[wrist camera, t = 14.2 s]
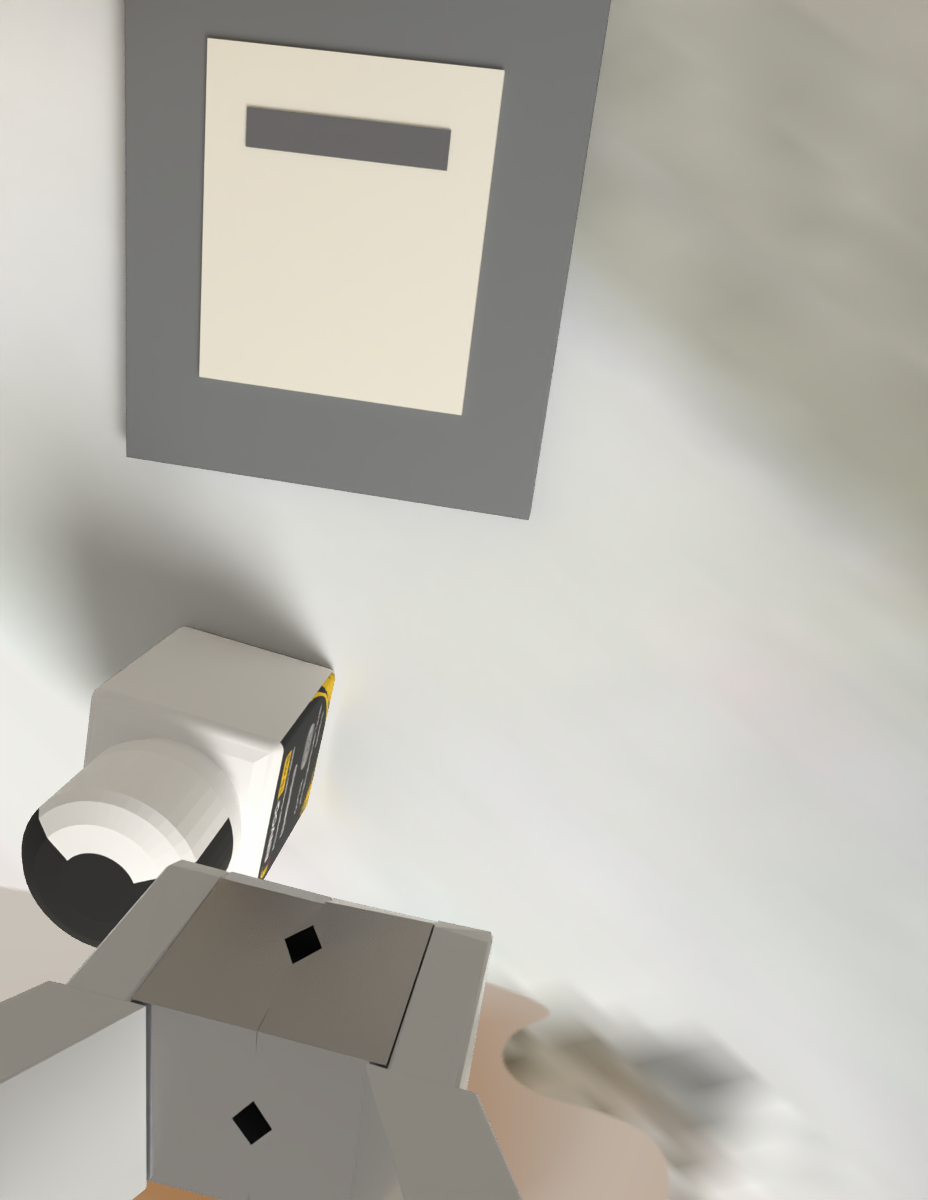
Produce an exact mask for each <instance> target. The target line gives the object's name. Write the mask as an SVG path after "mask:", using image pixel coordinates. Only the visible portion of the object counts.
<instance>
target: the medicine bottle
mask: <svg viewBox="0 0 928 1200" xmlns="http://www.w3.org/2000/svg"><path fill="white" fill-rule="evenodd" d="M334 681H335V674H334V672H333V671H332V670H331V669H328V668H325V667H322V666H318V665H315V664H311V663H308V662H305V661H301V660H298V659H295V658H291V657H288V656H284V655H281V654H278V653H274V652H271V651H267V650H264V649H261V648H257V647H254V646H250V645H247V644H244V643H240V642H237V641H234V640H230V639H227V638H223V637H220V636H217V635H213V634H210V633H206V632H203V631H200V630H196V629H193V628H190V627H180V628H179V629H177V630H176V631H174V632H173V633H172V634H170V635H169V636H168V637H166V638H165V639H163V640H162V641H161V642H159V643H158V644H157V645H155V646H154V647H153V648H151V649H150V650H149V651H147V652H146V653H145V654H143V655H142V656H140V657H139V658H138V659H136V660H135V661H134V662H132V663H131V664H130V665H128V666H127V667H126V668H124V669H123V670H122V671H120V672H119V673H117V674H116V675H115V676H113V677H112V678H111V679H109V680H108V681H107V682H105V683H104V684H103V685H101V686H100V687H99V688H97V689H96V690H95V691H94V693H93V695H92V698H91V707H90V716H89V725H88V734H87V743H86V751H85V760H84V769H83V770H81V771H80V772H79V773H78V774H77V775H76V776H75V777H73V778H72V779H71V780H70V781H69V782H68V783H67V784H66V785H64V786H63V787H62V788H61V789H60V790H59V791H58V792H56V793H55V794H54V795H53V796H52V797H51V798H50V799H48V800H47V801H46V802H45V803H44V804H43V805H42V806H40V807H39V808H38V810H37V811H36V812H35V813H34V814H33V815H32V817H31V819H30V821H29V822H28V824H27V826H26V829H25V832H24V835H23V841H22V863H23V870H24V875H25V879H26V882H27V885H28V887H29V890H30V892H31V894H32V896H33V897H34V899H35V901H36V902H37V904H38V905H39V907H40V908H41V909H42V911H43V912H44V913H45V914H46V915H47V916H48V917H49V918H50V920H52V921H53V922H54V923H55V924H56V925H57V926H58V927H59V928H61V929H62V930H63V931H65V932H66V933H68V934H69V935H71V936H72V937H74V938H76V939H78V940H79V941H81V942H83V943H86V944H88V945H91V946H93V947H96V948H97V947H98V946H99V945H100V944H101V943H102V941H103V940H104V939H105V938H106V937H107V936H108V934H109V933H110V932H111V931H112V930H113V929H114V927H115V926H116V925H117V924H118V923H119V922H120V920H121V919H122V918H123V917H124V916H125V915H126V913H127V912H128V911H129V910H130V909H131V908H132V906H133V905H134V904H135V903H136V902H137V901H138V899H139V898H140V897H141V896H142V895H143V894H144V892H145V891H146V890H147V889H148V888H149V887H150V885H151V884H152V883H153V882H154V881H155V880H156V879H157V877H158V876H159V875H160V874H161V873H162V872H163V870H164V869H165V868H166V867H167V866H169V865H171V864H173V863H175V862H177V861H179V860H181V859H182V860H186V861H190V862H194V863H197V864H201V865H205V866H209V867H213V868H216V869H220V870H224V871H227V872H236V873H240V874H244V875H247V876H251V877H255V878H259V879H264V878H265V876H266V874H267V873H268V871H269V869H270V867H271V866H272V864H273V862H274V861H275V859H276V857H277V855H278V854H279V852H280V850H281V849H282V847H283V845H284V843H285V842H286V840H287V838H288V837H289V835H290V833H291V831H292V830H293V828H294V826H295V825H296V823H297V821H298V819H299V818H300V816H301V814H302V813H303V811H304V809H305V807H306V806H307V803H308V798H309V794H310V789H311V785H312V780H313V776H314V771H315V767H316V762H317V758H318V753H319V749H320V744H321V740H322V735H323V731H324V726H325V722H326V717H327V712H328V708H329V703H330V699H331V694H332V690H333V685H334Z"/></svg>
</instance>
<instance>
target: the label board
mask: <svg viewBox="0 0 928 1200" xmlns="http://www.w3.org/2000/svg"><path fill="white" fill-rule="evenodd" d="M610 4H611V0H125V123H126V452H127V457H131V458H137V459H143V460H150V461H156V462H163V463H169V464H175V465H182V466H188V467H194V468H201V469H207V470H213V471H220V472H226V473H232V474H239V475H245V476H252V477H258V478H264V479H271V480H277V481H283V482H290V483H296V484H302V485H309V486H315V487H321V488H328V489H334V490H341V491H347V492H353V493H360V494H366V495H372V496H379V497H385V498H391V499H398V500H404V501H410V502H417V503H423V504H430V505H436V506H442V507H449V508H455V509H461V510H468V511H474V512H480V513H487V514H493V515H499V516H506V517H512V518H519V519H525V520H529V516H530V512H531V506H532V499H533V493H534V486H535V480H536V474H537V467H538V461H539V455H540V448H541V442H542V436H543V429H544V423H545V417H546V410H547V404H548V398H549V391H550V385H551V378H552V372H553V366H554V359H555V353H556V347H557V340H558V334H559V328H560V321H561V315H562V309H563V302H564V296H565V289H566V283H567V277H568V270H569V264H570V258H571V251H572V245H573V239H574V232H575V226H576V220H577V213H578V207H579V201H580V194H581V188H582V181H583V175H584V169H585V162H586V156H587V150H588V143H589V137H590V131H591V124H592V118H593V112H594V105H595V99H596V92H597V86H598V80H599V73H600V67H601V61H602V54H603V48H604V42H605V35H606V29H607V23H608V16H609V10H610Z"/></svg>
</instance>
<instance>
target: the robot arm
mask: <svg viewBox="0 0 928 1200" xmlns="http://www.w3.org/2000/svg"><path fill="white" fill-rule="evenodd" d="M492 938H493V936H492V934H491V932H488V931H484V930H479V929H474V928H470V927H465V926H460V925H456V924H451V923H446V922H441V921H438V922H436V921H431V920H427V919H423V918H418V917H414V916H410V915H405V914H401V913H396V912H392V911H388V910H383V909H379V908H375V907H370V906H366V905H361V904H357V903H353V902H348V901H344V900H340V899H335V898H333V899H332V898H331V897H327V896H324V895H320V894H316V893H312V892H308V891H305V890H301V889H297V888H293V887H289V886H285V885H282V884H278V883H274V882H270V881H266V880H263V879H259V878H255V877H251V876H247V875H244V874H240V873H236V872H227V871H224V870H220V869H216V868H213V867H209V866H205V865H201V864H197V863H194V862H190V861H186V860H182V859H181V860H179V861H177V862H175V863H173V864H171V865H169V866H167V867H166V868H165V869H164V870H163V872H162V873H161V874H160V875H159V876H158V877H157V879H156V880H155V881H154V882H153V883H152V884H151V885H150V887H149V888H148V889H147V890H146V891H145V892H144V894H143V895H142V896H141V897H140V898H139V899H138V901H137V902H136V903H135V904H134V905H133V906H132V908H131V909H130V910H129V911H128V912H127V913H126V915H125V916H124V917H123V918H122V919H121V920H120V922H119V923H118V924H117V925H116V926H115V927H114V929H113V930H112V931H111V932H110V933H109V934H108V936H107V937H106V938H105V939H104V940H103V941H102V943H101V944H100V945H99V946H98V947H97V948H96V950H95V951H94V952H93V953H92V954H91V955H90V957H89V958H88V959H87V960H86V961H85V962H84V964H83V965H82V966H81V967H80V968H79V969H78V971H77V972H76V973H75V974H74V975H73V976H72V978H71V979H70V980H69V981H68V982H67V983H66V985H64V984H61V983H56V982H52V981H47V982H45V983H43V984H41V985H38V986H36V987H34V988H31V989H29V990H27V991H25V992H23V993H20V994H18V995H16V996H14V997H11V998H9V999H7V1000H5V1001H3V1002H0V1200H132V1199H133V1198H134V1197H136V1196H137V1195H138V1194H139V1193H141V1192H142V1191H143V1190H144V1189H146V1185H147V1184H146V1183H147V1180H148V1181H151V1182H155V1183H160V1184H164V1185H168V1186H171V1187H175V1188H179V1189H183V1190H187V1191H191V1192H195V1193H198V1194H202V1195H206V1196H210V1197H214V1198H218V1199H222V1200H522V1197H521V1195H520V1193H519V1190H518V1188H517V1186H516V1183H515V1181H514V1179H513V1176H512V1174H511V1171H510V1169H509V1167H508V1165H507V1162H506V1160H505V1157H504V1155H503V1153H502V1150H501V1148H500V1146H499V1143H498V1141H497V1138H496V1136H495V1134H494V1131H493V1129H492V1127H491V1124H490V1122H489V1120H488V1117H487V1115H486V1113H485V1110H484V1108H483V1105H482V1103H481V1101H480V1099H479V1096H478V1094H477V1093H474V1092H471V1091H468V1090H467V1086H468V1080H469V1074H470V1069H471V1063H472V1057H473V1052H474V1046H475V1040H476V1034H477V1029H478V1023H479V1017H480V1011H481V1005H482V1000H483V994H484V988H485V982H486V977H487V971H488V965H489V959H490V954H491V948H492Z"/></svg>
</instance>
